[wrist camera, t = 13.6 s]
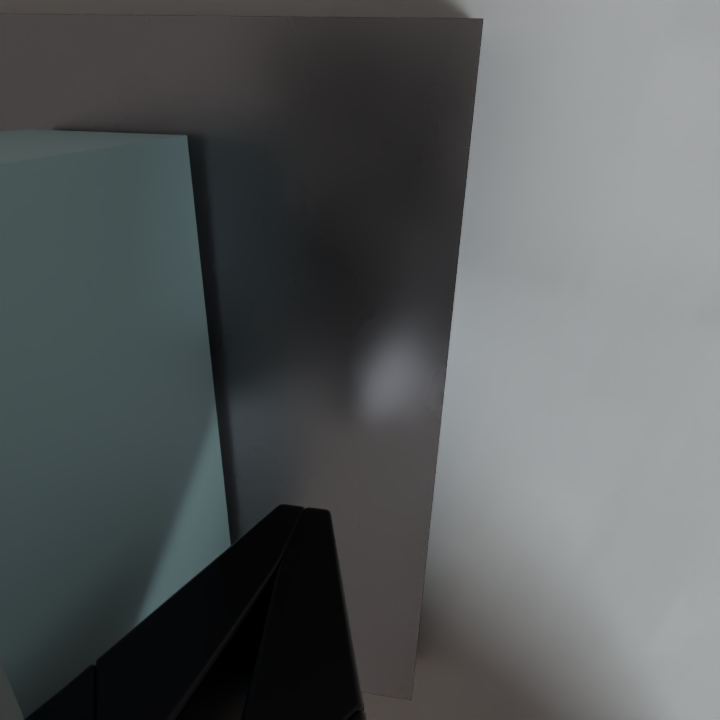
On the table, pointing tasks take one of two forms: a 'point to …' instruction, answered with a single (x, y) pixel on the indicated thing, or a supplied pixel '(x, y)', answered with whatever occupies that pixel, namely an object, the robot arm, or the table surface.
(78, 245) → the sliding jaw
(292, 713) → the robot arm
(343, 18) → the vise base
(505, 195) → the table surface
